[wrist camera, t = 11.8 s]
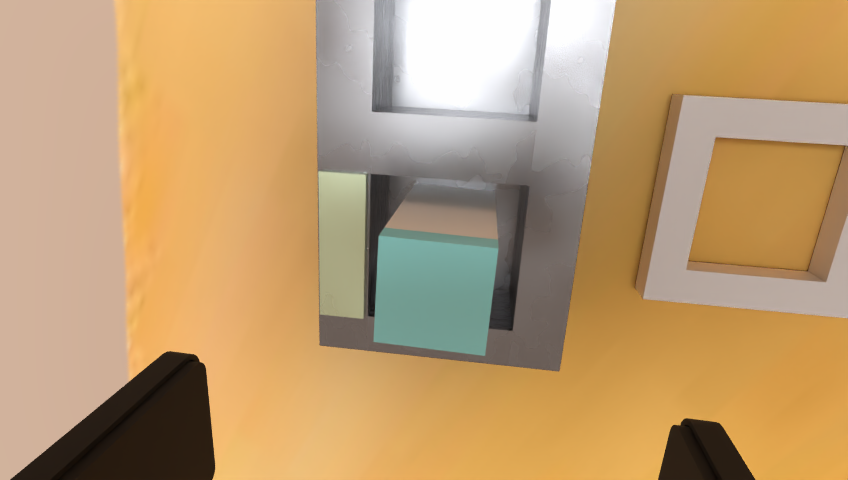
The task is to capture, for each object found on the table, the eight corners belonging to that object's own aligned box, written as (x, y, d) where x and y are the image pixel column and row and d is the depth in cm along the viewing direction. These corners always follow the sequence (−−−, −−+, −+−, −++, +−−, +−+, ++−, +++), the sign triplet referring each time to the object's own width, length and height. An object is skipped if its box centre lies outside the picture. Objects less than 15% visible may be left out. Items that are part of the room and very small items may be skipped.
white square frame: (899, 106, 23) (925, 108, 22) (834, 305, 27) (853, 318, 25) (672, 94, 24) (683, 95, 23) (634, 287, 28) (643, 298, 26)
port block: (598, -76, 23) (637, -131, 17) (545, 313, 29) (560, 375, 23) (355, -82, 24) (311, -136, 18) (351, 294, 30) (317, 348, 24)
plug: (494, 191, 25) (498, 248, 17) (485, 267, 27) (485, 356, 18) (414, 183, 26) (378, 235, 17) (409, 258, 27) (373, 341, 18)
